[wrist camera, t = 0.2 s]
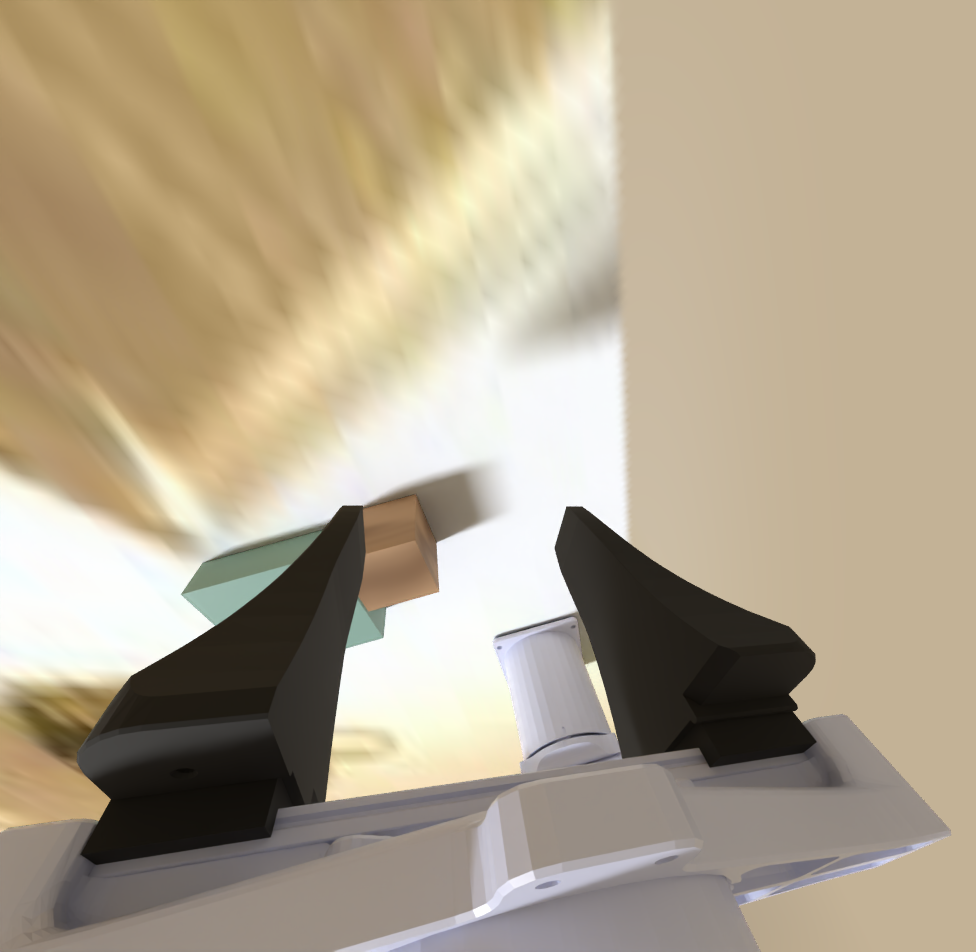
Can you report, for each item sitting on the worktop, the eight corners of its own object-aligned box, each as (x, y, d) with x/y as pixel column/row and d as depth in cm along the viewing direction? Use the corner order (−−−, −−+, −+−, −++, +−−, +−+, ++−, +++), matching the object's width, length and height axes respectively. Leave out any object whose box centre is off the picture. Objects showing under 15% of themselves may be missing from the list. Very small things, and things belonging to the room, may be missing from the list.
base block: (386, 604, 29) (383, 637, 27) (278, 634, 29) (264, 670, 27) (336, 522, 24) (326, 554, 22) (205, 558, 24) (180, 594, 22)
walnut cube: (436, 542, 26) (439, 591, 22) (375, 558, 26) (368, 611, 22) (415, 493, 24) (415, 540, 20) (348, 512, 24) (335, 562, 20)
